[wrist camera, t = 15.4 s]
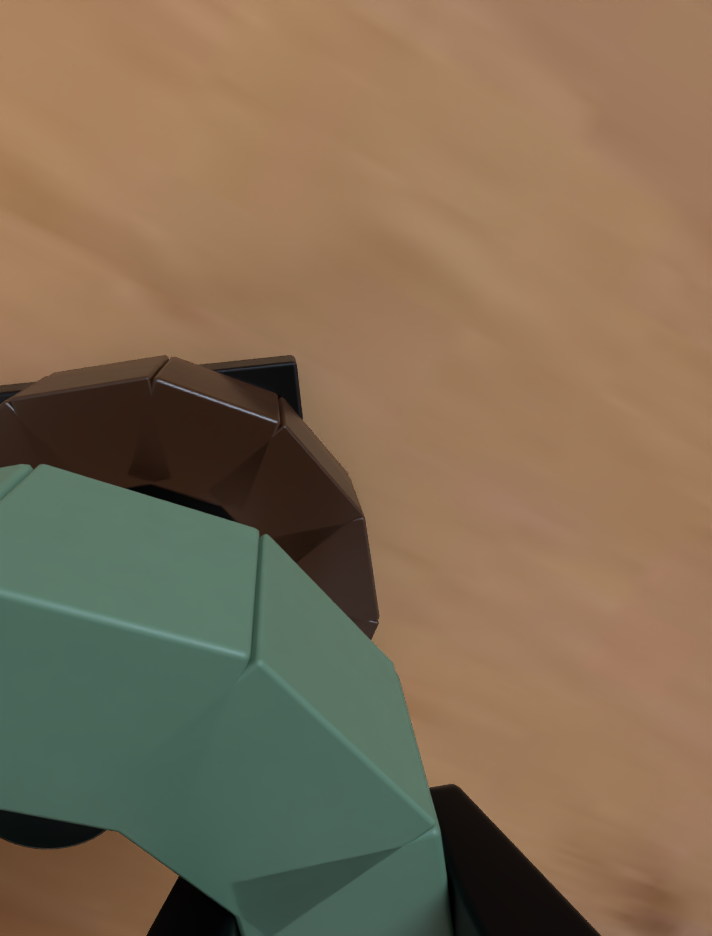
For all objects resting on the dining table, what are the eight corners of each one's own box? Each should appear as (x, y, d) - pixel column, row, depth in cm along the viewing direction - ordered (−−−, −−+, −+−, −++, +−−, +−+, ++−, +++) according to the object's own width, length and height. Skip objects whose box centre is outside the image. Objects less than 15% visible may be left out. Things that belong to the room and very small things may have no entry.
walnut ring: (380, 680, 17) (398, 747, 15) (22, 753, 16) (-17, 835, 14) (327, 328, 14) (340, 345, 12) (-121, 399, 13) (-199, 431, 11)
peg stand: (328, 647, 18) (375, 947, 10) (22, 693, 17) (-172, 1055, 9) (294, 353, 15) (325, 464, 7) (-71, 392, 14) (-452, 558, 7)
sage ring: (443, 974, 10) (491, 1186, 8) (-165, 1110, 10) (-303, 1378, 7) (356, 403, 7) (393, 481, 5) (-558, 562, 6) (-1015, 736, 4)
